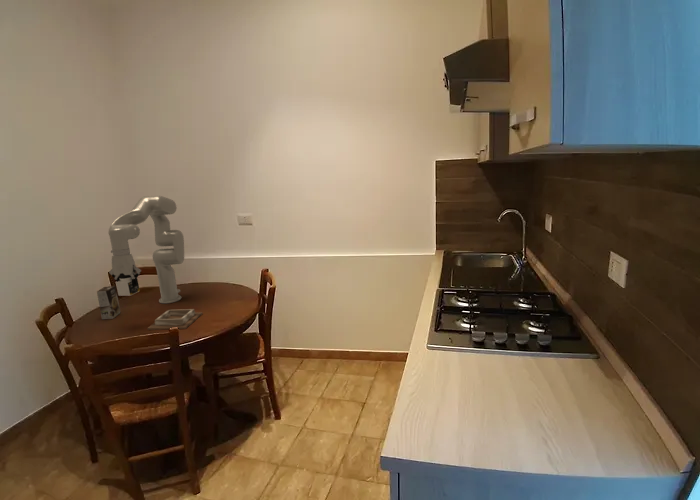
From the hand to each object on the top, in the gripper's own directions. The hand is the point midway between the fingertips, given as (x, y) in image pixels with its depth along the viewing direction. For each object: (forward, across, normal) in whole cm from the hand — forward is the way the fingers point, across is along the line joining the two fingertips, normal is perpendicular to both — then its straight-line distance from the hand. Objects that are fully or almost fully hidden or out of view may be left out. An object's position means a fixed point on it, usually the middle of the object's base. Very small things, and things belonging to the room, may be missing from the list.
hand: (127, 286), depth 219 cm
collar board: (+22, +20, +5) cm, 30 cm away
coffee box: (+22, -23, +15) cm, 35 cm away
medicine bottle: (+4, 0, 0) cm, 4 cm away
